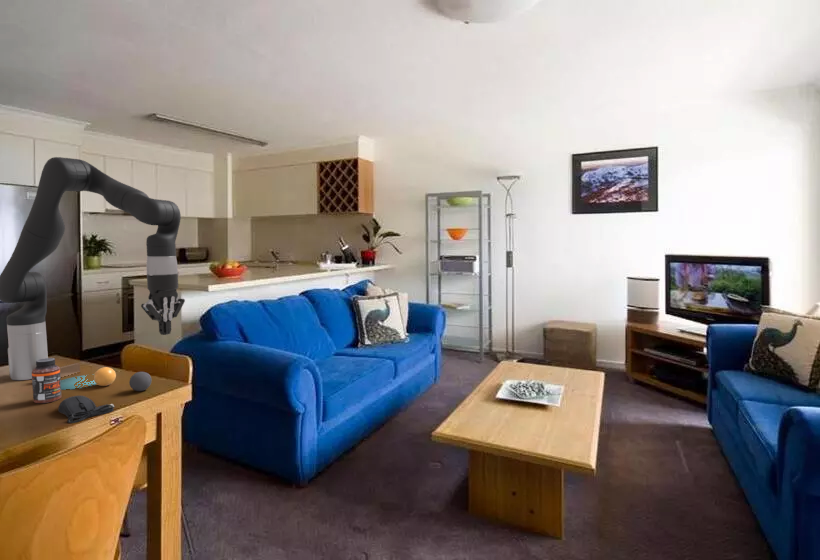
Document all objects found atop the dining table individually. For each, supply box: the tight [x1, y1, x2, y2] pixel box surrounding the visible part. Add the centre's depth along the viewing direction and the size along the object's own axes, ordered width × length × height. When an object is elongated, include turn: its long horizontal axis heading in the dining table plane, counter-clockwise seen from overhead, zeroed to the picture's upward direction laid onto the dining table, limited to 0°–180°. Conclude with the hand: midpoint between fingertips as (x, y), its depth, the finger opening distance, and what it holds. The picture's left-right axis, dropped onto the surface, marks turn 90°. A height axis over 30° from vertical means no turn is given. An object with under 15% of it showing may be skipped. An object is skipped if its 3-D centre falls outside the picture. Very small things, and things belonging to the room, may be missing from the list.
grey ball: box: [128, 371, 153, 392], centre depth 128 cm, size 6×6×6 cm
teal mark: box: [61, 374, 97, 391], centre depth 136 cm, size 14×14×1 cm
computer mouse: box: [57, 395, 115, 424], centre depth 113 cm, size 10×15×4 cm
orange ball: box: [93, 366, 117, 387], centre depth 133 cm, size 6×6×6 cm
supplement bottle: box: [31, 357, 62, 404], centre depth 120 cm, size 6×6×11 cm
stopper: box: [59, 362, 81, 379], centre depth 140 cm, size 2×12×3 cm, turn 162°
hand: (165, 334), depth 124 cm, fingers closed
